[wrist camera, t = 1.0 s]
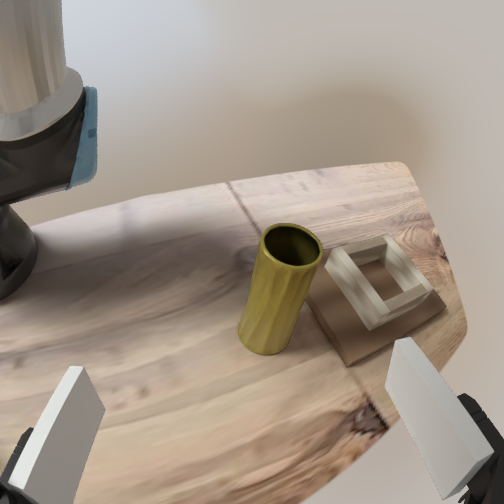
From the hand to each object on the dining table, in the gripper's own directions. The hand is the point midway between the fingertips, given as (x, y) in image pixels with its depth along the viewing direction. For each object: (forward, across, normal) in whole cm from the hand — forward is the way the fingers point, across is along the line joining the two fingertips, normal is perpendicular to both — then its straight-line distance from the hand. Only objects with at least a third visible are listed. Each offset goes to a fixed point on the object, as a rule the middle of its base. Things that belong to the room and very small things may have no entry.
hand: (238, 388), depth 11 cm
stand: (+27, +18, -12) cm, 34 cm away
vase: (+21, +2, -12) cm, 24 cm away
